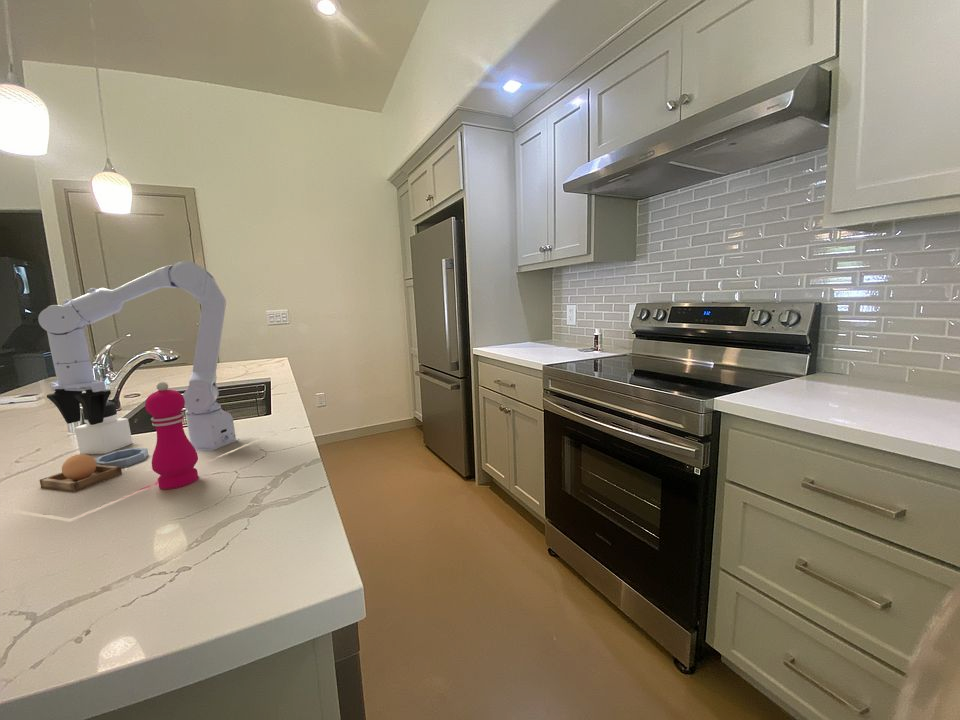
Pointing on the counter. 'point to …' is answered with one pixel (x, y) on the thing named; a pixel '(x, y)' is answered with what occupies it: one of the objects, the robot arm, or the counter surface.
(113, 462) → the ramekin
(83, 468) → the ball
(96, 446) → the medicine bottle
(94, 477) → the tray
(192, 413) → the robot arm
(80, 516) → the counter surface
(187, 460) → the pepper mill
